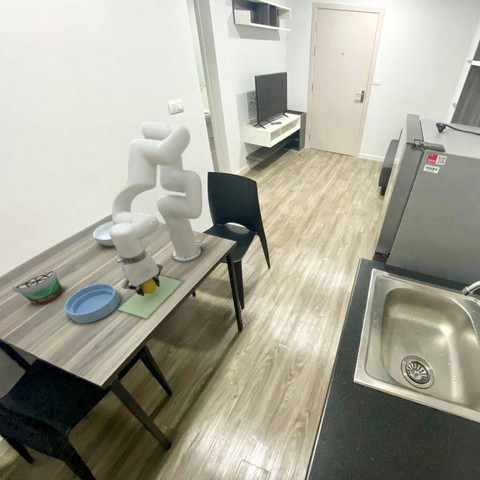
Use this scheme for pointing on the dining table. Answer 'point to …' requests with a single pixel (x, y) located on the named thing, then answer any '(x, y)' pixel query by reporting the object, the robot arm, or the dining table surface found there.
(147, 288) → the lemon
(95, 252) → the dining table surface
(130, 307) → the napkin
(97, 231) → the cereal bowl
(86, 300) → the bowl
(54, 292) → the food container
